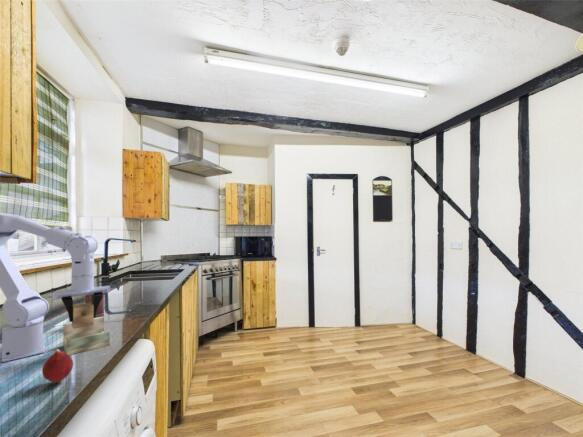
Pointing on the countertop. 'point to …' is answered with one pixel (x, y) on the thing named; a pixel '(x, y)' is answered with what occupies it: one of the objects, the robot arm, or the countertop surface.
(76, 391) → the countertop surface
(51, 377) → the onion
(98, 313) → the can
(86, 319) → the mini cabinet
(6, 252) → the robot arm
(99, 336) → the wooden cubby shelf
